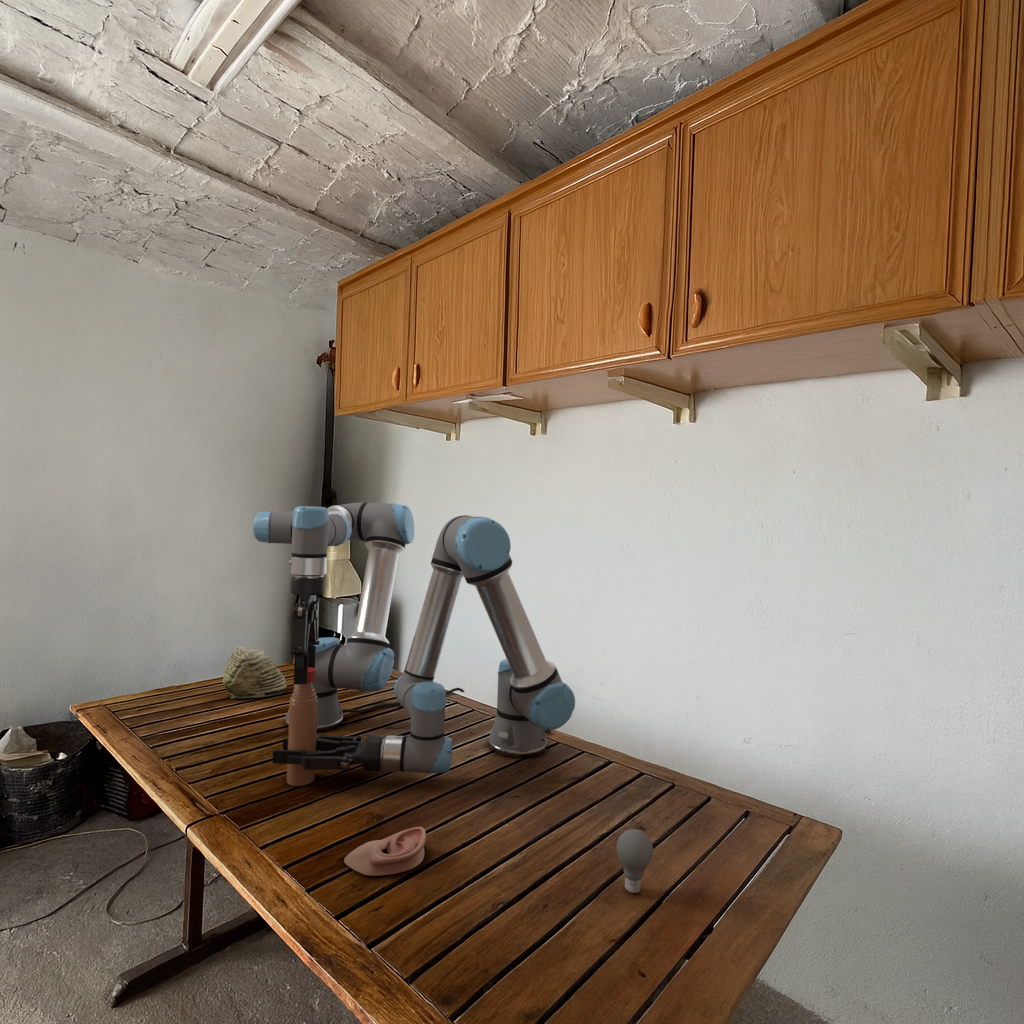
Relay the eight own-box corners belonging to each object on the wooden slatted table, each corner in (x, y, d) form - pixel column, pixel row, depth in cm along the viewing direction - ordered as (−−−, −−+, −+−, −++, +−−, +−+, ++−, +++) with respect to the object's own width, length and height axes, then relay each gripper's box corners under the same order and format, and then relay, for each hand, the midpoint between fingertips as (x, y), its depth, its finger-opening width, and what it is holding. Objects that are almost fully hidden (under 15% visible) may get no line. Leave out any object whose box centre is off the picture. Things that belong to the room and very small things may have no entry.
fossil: (218, 695, 195) (220, 647, 195) (278, 685, 208) (279, 640, 207) (228, 703, 189) (230, 653, 188) (289, 692, 201) (290, 645, 201)
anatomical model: (336, 847, 108) (365, 815, 119) (335, 870, 108) (364, 836, 119) (410, 859, 105) (432, 825, 116) (409, 883, 105) (431, 846, 116)
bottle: (281, 779, 141) (285, 671, 141) (306, 771, 145) (310, 667, 145) (294, 788, 137) (298, 677, 136) (319, 780, 141) (323, 673, 141)
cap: (318, 681, 140) (318, 670, 140) (296, 684, 138) (297, 673, 138) (311, 676, 144) (312, 666, 144) (291, 678, 141) (291, 668, 141)
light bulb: (610, 879, 108) (613, 822, 108) (644, 879, 109) (647, 822, 109) (619, 902, 102) (622, 840, 102) (655, 901, 103) (658, 840, 103)
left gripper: (301, 570, 150) (298, 666, 150) (278, 581, 130) (274, 692, 131) (334, 571, 150) (330, 667, 151) (316, 582, 131) (311, 692, 131)
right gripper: (374, 789, 132) (262, 786, 131) (389, 753, 151) (291, 750, 150) (375, 753, 132) (263, 750, 131) (390, 721, 151) (292, 718, 150)
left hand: (304, 678), depth 141 cm, fingers open, 7 cm apart
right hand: (278, 750), depth 141 cm, fingers closed on bottle, 6 cm apart
